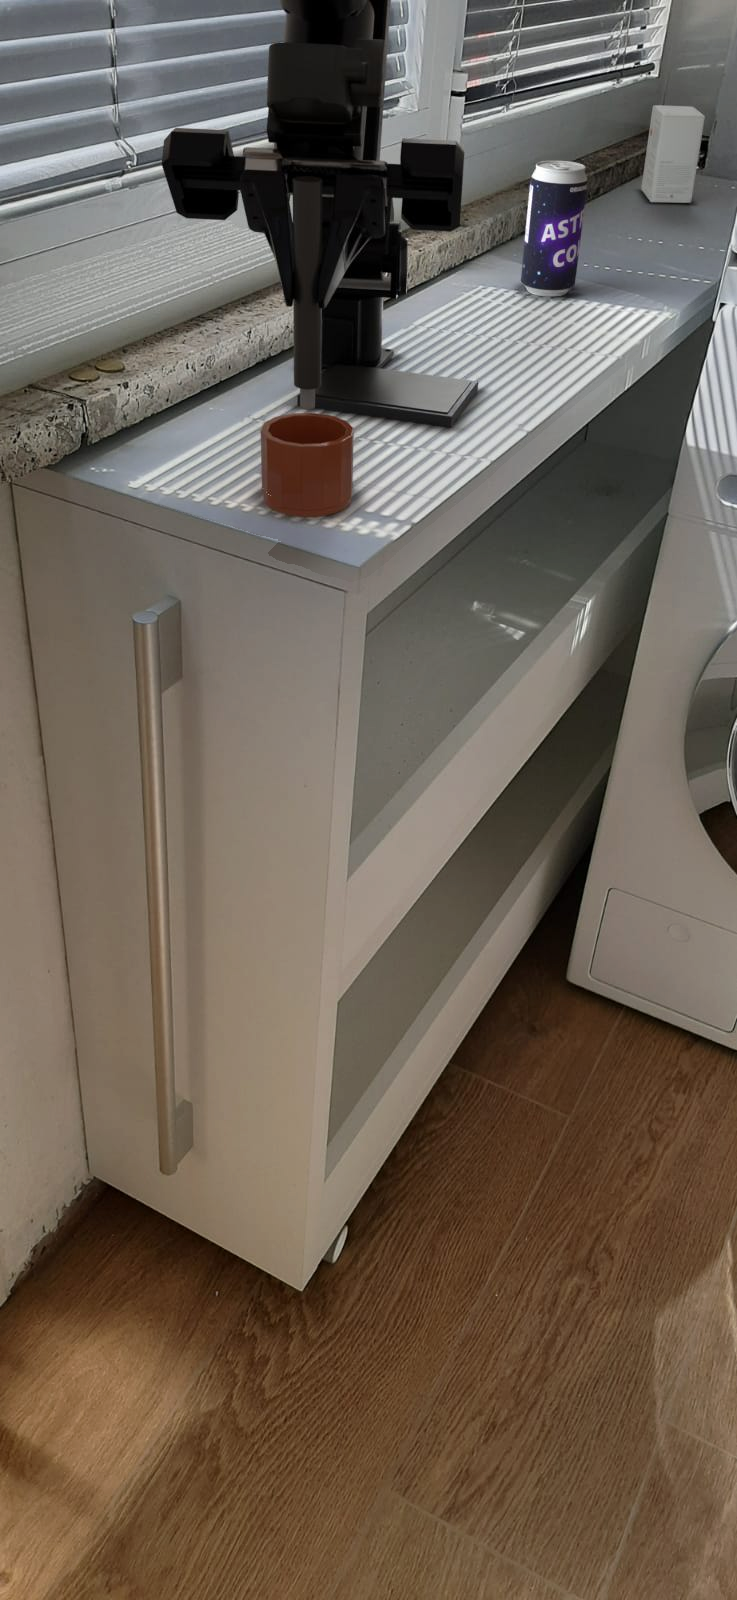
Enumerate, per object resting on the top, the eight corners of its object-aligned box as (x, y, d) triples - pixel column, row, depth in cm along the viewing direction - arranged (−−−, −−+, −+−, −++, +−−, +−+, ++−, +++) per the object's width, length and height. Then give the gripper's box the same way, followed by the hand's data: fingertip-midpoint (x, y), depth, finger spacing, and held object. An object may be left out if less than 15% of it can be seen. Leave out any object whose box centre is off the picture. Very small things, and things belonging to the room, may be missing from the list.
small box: (691, 204, 168) (706, 115, 161) (649, 203, 168) (662, 114, 161) (680, 191, 174) (694, 105, 168) (640, 190, 174) (652, 104, 168)
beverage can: (531, 300, 129) (544, 171, 122) (512, 284, 134) (523, 160, 126) (582, 297, 131) (598, 170, 123) (561, 282, 135) (575, 159, 128)
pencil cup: (280, 475, 91) (279, 407, 88) (363, 488, 90) (365, 420, 87) (248, 509, 87) (246, 438, 84) (336, 523, 85) (336, 451, 82)
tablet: (332, 372, 110) (333, 360, 109) (477, 391, 107) (478, 380, 106) (297, 405, 103) (297, 393, 102) (451, 427, 100) (451, 415, 99)
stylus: (299, 401, 85) (298, 174, 77) (324, 404, 85) (326, 177, 76) (290, 410, 84) (288, 180, 75) (315, 413, 83) (316, 183, 75)
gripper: (156, -27, 74) (129, 220, 71) (475, -14, 73) (457, 236, 71) (190, 104, 85) (167, 321, 82) (467, 117, 84) (451, 337, 82)
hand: (304, 304), depth 79 cm, fingers closed on stylus, 2 cm apart
